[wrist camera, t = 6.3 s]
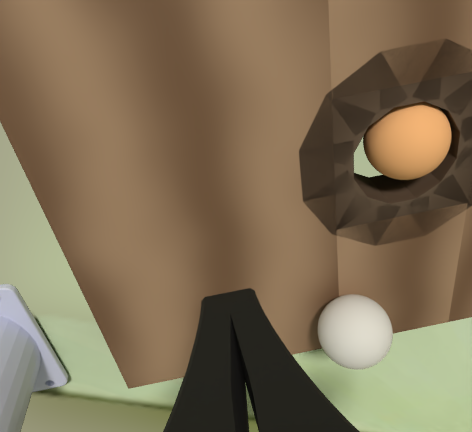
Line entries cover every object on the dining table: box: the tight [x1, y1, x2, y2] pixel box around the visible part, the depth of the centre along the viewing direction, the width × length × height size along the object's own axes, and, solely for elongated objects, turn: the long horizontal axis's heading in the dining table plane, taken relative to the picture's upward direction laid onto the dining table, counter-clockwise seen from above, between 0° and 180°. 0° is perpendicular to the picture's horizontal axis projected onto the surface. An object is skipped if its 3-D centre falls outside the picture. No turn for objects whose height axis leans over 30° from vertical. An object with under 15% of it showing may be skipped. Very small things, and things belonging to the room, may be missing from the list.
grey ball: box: [318, 294, 393, 369], centre depth 21 cm, size 4×4×4 cm
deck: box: [0, 0, 472, 388], centre depth 19 cm, size 20×22×2 cm
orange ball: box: [363, 101, 451, 180], centre depth 19 cm, size 4×4×4 cm
